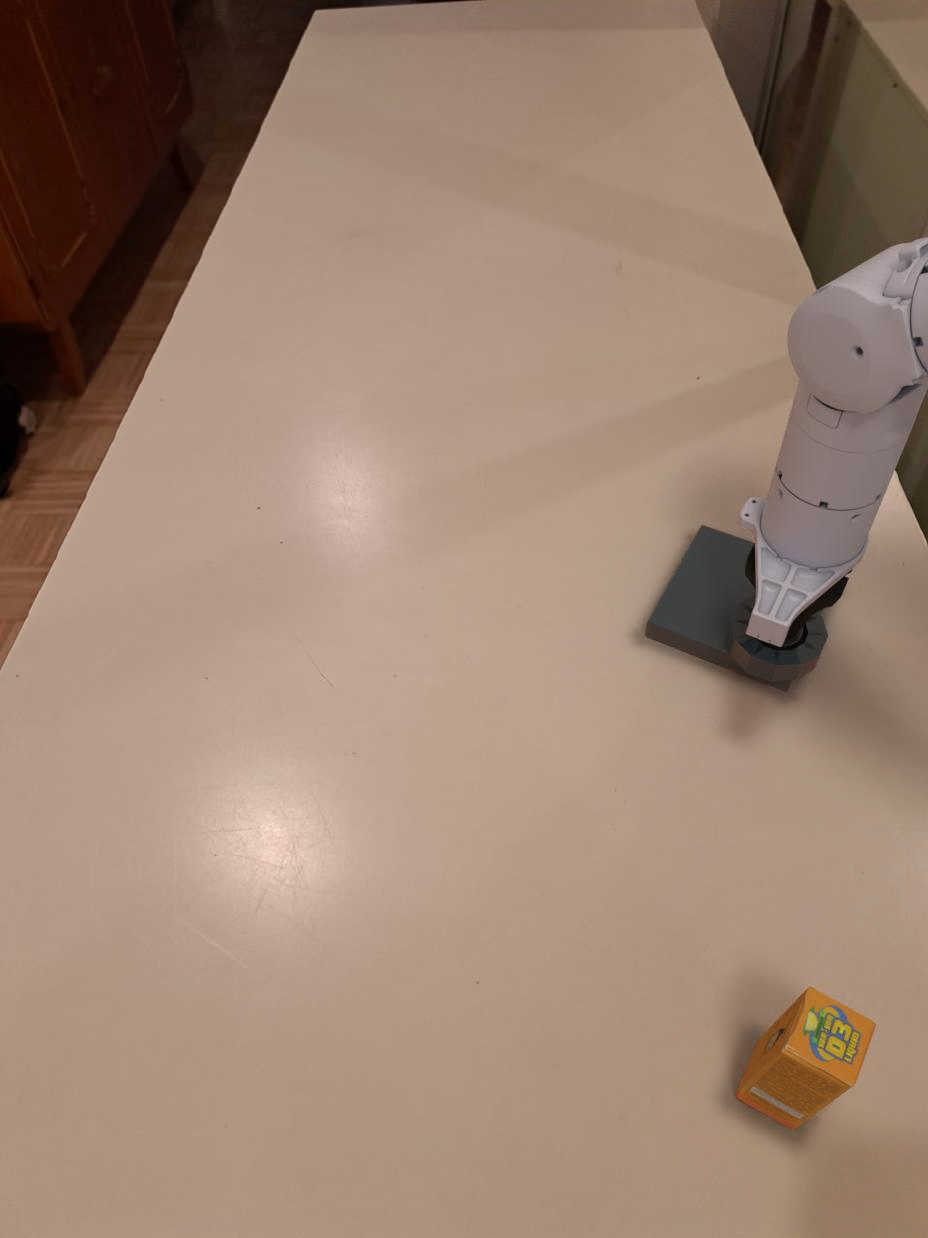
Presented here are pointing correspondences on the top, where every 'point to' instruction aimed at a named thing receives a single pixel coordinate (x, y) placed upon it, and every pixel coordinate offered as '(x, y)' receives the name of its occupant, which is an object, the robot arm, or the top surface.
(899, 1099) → the top surface
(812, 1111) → the supplement box
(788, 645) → the dark brown short cylinder
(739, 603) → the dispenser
